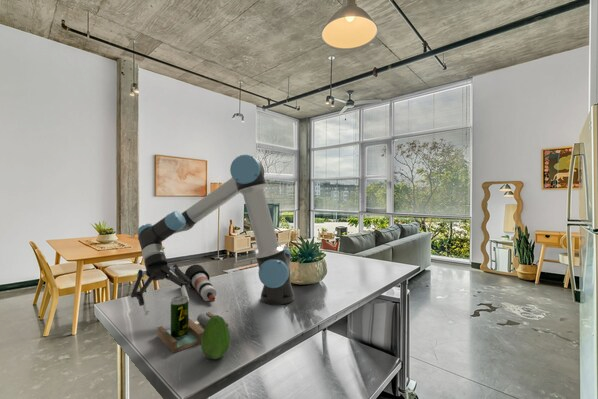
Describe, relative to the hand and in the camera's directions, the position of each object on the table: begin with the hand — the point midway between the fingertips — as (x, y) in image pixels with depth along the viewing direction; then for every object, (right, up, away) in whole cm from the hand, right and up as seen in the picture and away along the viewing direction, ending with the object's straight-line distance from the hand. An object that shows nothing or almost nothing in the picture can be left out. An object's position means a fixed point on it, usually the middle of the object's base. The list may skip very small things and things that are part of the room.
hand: (168, 307), depth 97 cm
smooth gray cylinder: (+14, -6, -2) cm, 15 cm away
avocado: (+22, -7, -18) cm, 29 cm away
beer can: (+7, -6, -8) cm, 12 cm away
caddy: (+11, -7, -5) cm, 14 cm away
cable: (0, -8, +36) cm, 37 cm away
